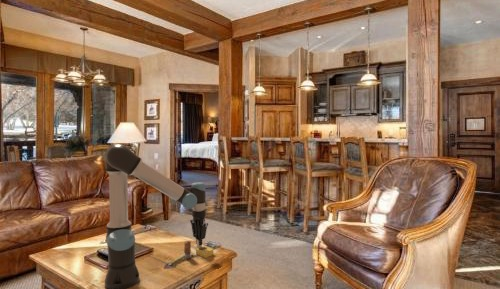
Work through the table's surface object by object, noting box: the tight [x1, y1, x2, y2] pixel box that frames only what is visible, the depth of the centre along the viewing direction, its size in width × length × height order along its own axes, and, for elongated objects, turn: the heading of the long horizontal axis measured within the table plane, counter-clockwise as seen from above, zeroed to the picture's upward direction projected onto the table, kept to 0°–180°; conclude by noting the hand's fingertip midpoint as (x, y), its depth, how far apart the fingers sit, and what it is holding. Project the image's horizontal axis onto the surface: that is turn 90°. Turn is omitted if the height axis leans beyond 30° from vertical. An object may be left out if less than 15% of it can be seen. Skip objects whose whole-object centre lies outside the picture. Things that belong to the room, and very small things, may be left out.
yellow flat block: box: [196, 245, 215, 259], centre depth 174 cm, size 6×8×3 cm
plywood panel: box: [180, 243, 220, 259], centre depth 179 cm, size 14×18×1 cm
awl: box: [183, 240, 192, 260], centre depth 169 cm, size 3×3×10 cm
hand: (199, 250), depth 177 cm, fingers closed
